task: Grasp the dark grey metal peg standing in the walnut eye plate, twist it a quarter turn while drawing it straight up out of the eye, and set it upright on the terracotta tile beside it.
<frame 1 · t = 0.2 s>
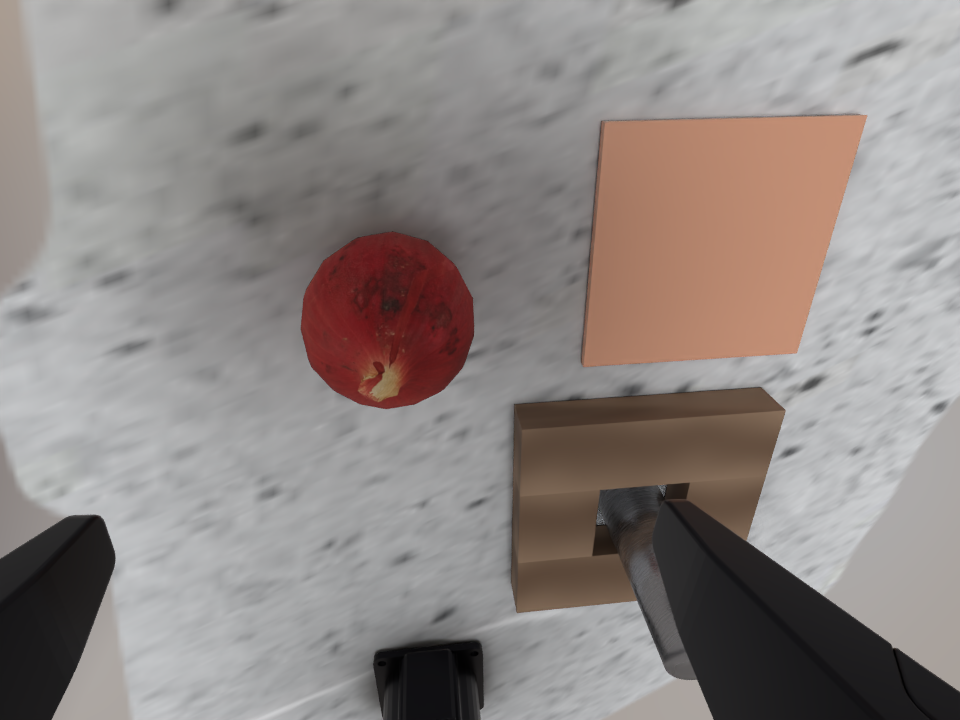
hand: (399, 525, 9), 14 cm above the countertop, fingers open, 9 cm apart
peg: (659, 560, 25), in the eye plate
onion: (393, 281, 22), on the countertop
tile: (708, 249, 23), on the countertop
eye plate: (625, 492, 29), on the countertop
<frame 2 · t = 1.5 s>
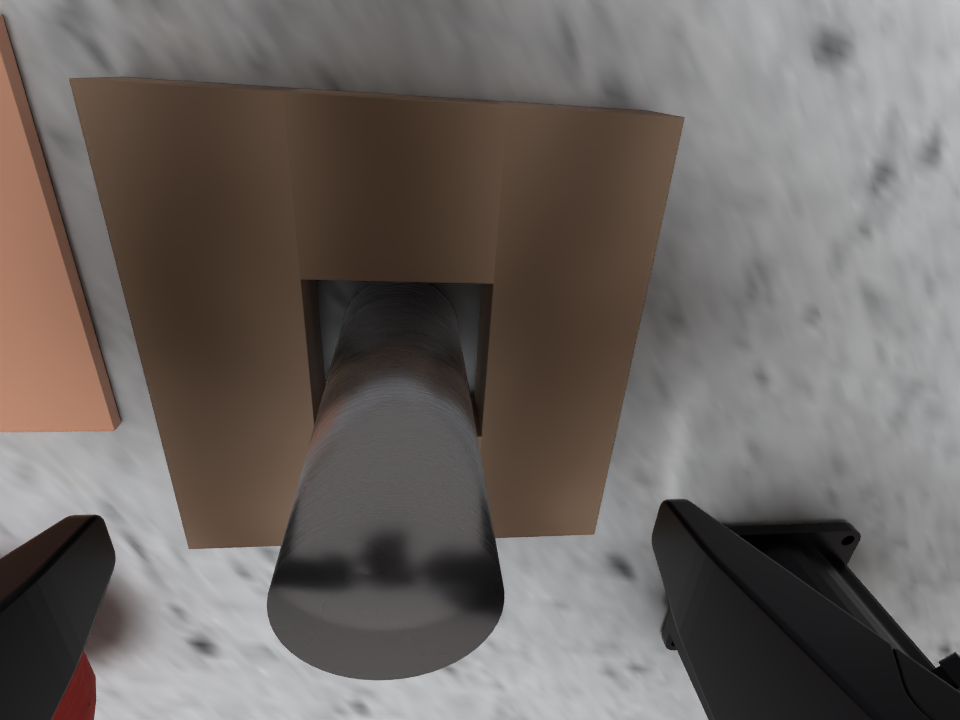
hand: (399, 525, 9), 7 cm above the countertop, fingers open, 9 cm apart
peg: (397, 422, 11), in the eye plate
onion: (50, 610, 19), on the countertop
eye plate: (401, 331, 15), on the countertop
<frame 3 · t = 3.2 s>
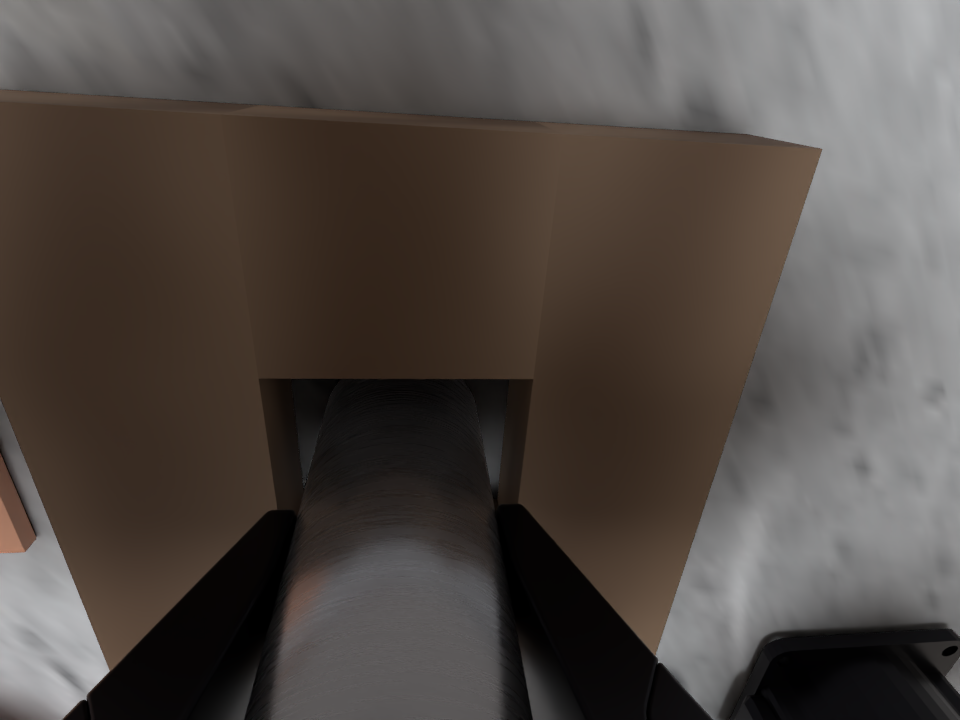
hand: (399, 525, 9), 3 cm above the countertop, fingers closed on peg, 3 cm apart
peg: (396, 602, 8), in the eye plate, touching gripper
eye plate: (402, 422, 12), on the countertop
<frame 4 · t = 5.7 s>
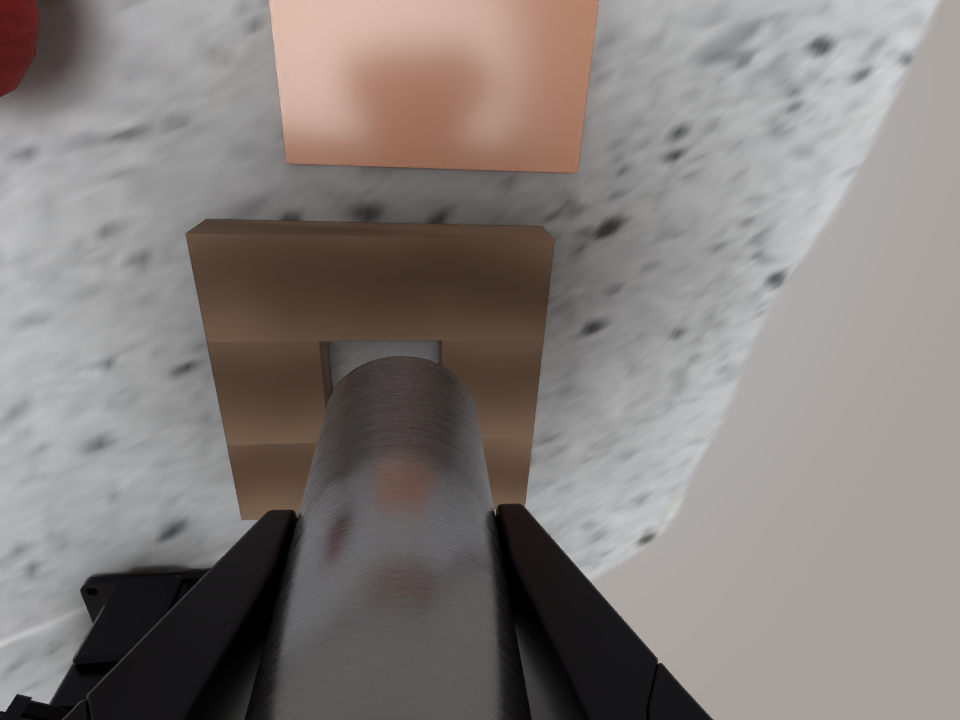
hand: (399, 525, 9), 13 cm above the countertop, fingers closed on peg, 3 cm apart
peg: (395, 604, 8), point 15 cm above the countertop, touching gripper
eye plate: (385, 368, 23), on the countertop
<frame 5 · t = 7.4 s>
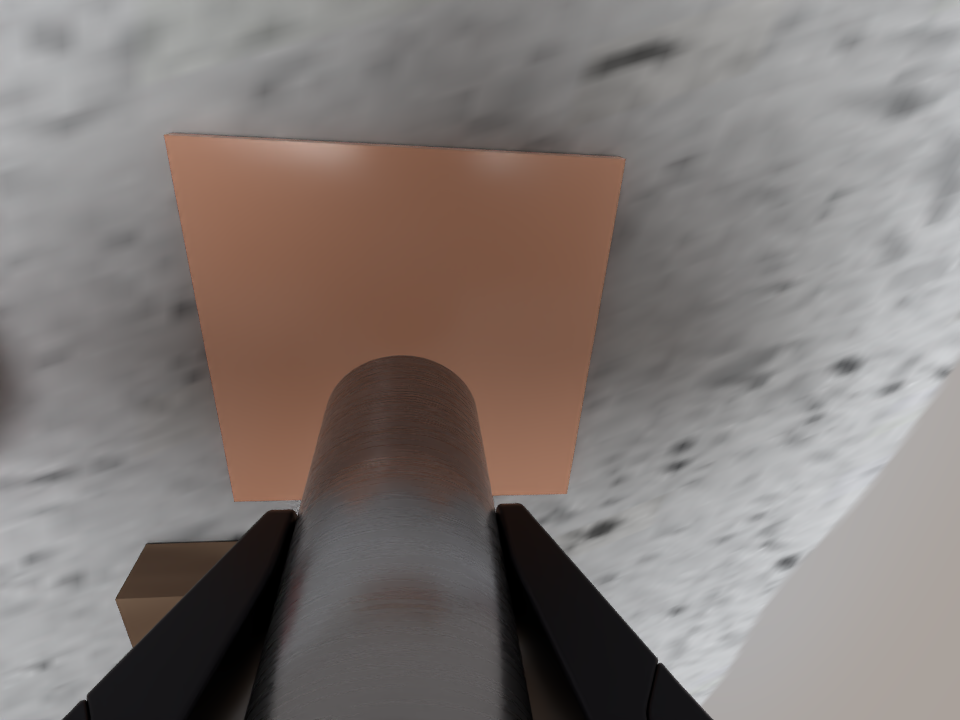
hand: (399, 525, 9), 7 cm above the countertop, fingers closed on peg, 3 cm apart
peg: (396, 604, 8), point 8 cm above the countertop, touching gripper
tile: (406, 344, 15), on the countertop
eye plate: (352, 655, 20), on the countertop
when the fingers open (4 cm above the countertop, at t = 8.5 s): peg stays where it is, resting on tile.
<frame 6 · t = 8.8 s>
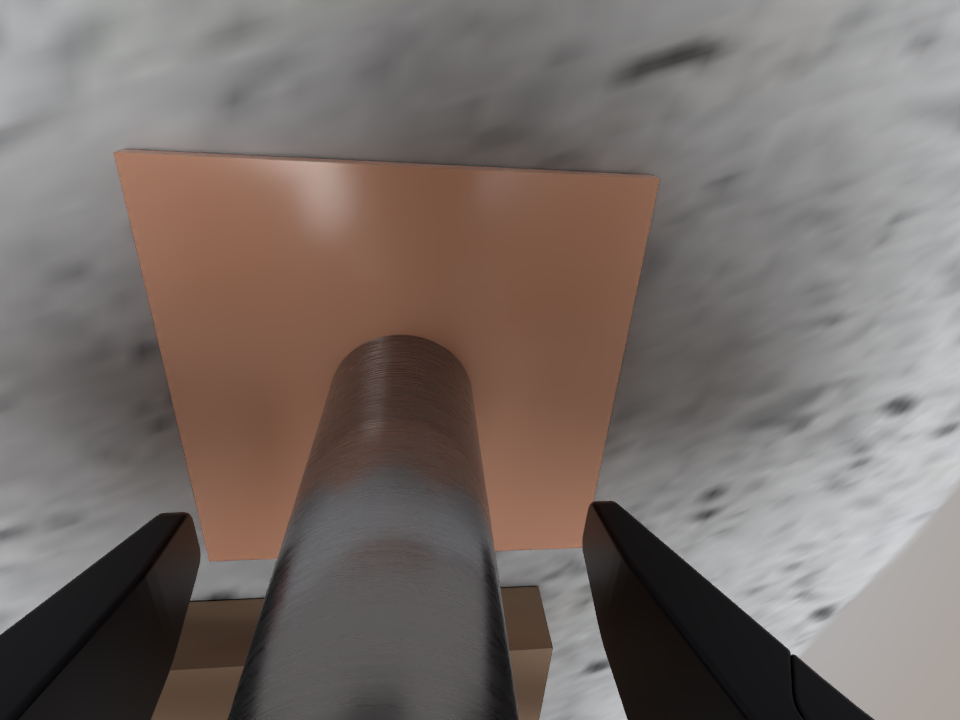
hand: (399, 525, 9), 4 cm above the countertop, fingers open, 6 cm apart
peg: (390, 550, 8), on the tile
tile: (404, 387, 13), on the countertop
eye plate: (345, 716, 19), on the countertop
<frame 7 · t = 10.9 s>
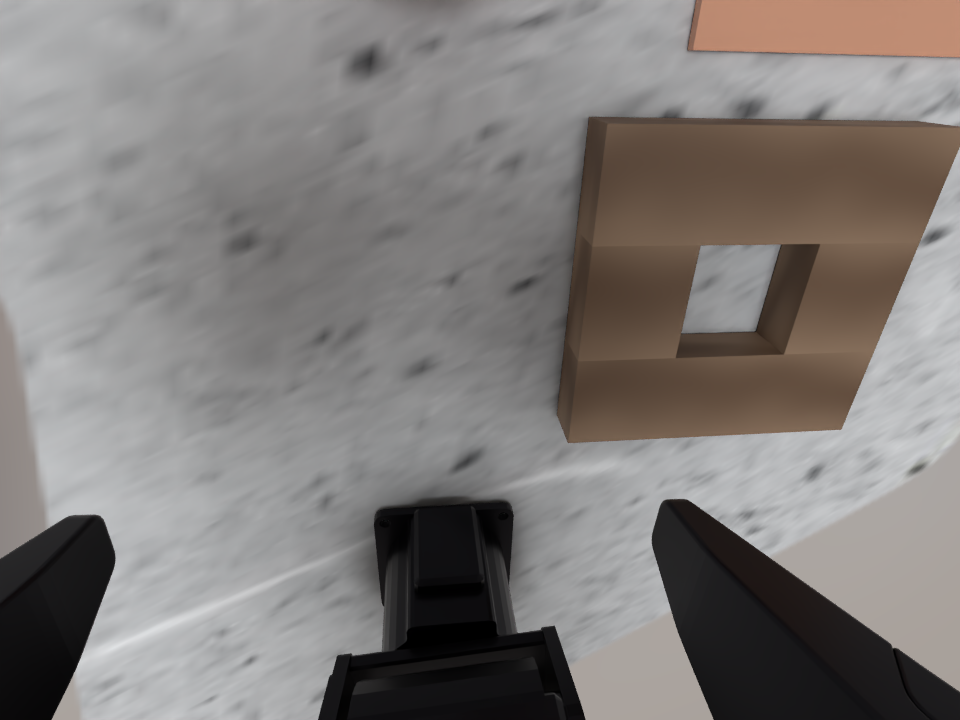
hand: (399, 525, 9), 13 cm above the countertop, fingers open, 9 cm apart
eye plate: (718, 283, 22), on the countertop
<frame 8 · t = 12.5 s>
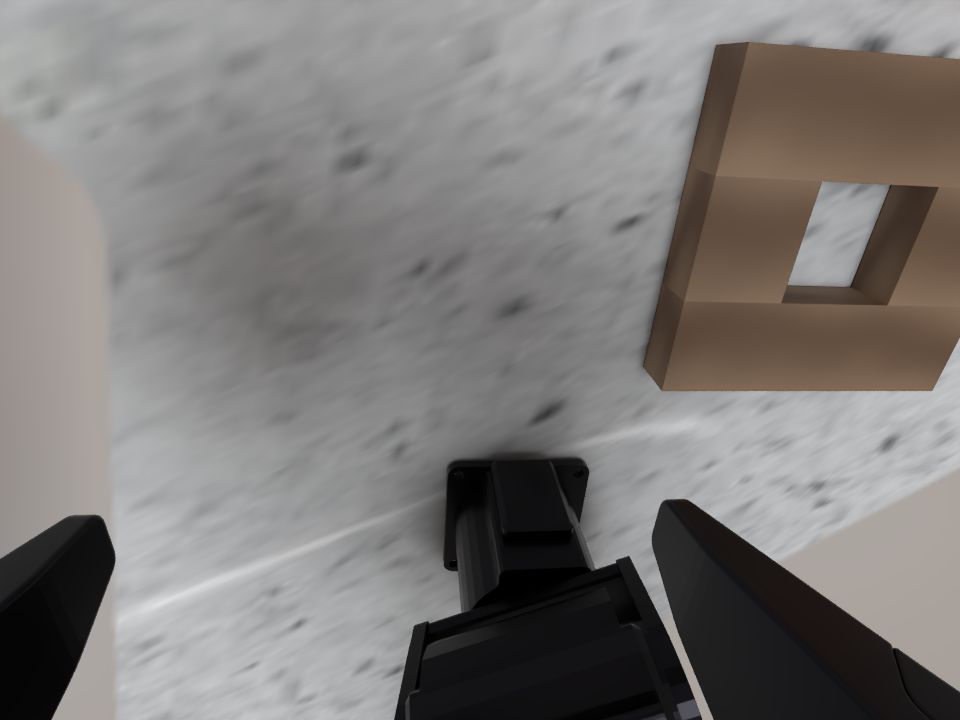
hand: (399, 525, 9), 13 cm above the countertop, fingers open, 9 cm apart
eye plate: (820, 232, 21), on the countertop
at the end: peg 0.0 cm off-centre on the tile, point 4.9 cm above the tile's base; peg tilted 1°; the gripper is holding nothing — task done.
